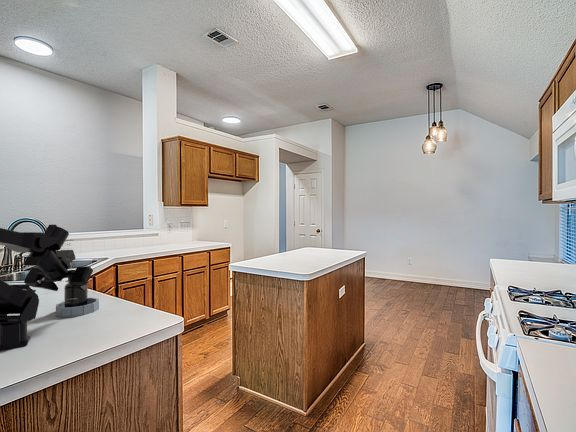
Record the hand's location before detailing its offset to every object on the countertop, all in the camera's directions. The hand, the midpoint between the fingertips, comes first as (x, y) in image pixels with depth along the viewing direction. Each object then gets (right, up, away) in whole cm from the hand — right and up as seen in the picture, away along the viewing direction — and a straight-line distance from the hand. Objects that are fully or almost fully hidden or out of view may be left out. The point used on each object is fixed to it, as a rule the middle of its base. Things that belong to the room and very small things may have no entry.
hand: (71, 289), depth 107 cm
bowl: (0, -8, +4) cm, 9 cm away
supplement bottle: (-1, -8, +3) cm, 9 cm away
